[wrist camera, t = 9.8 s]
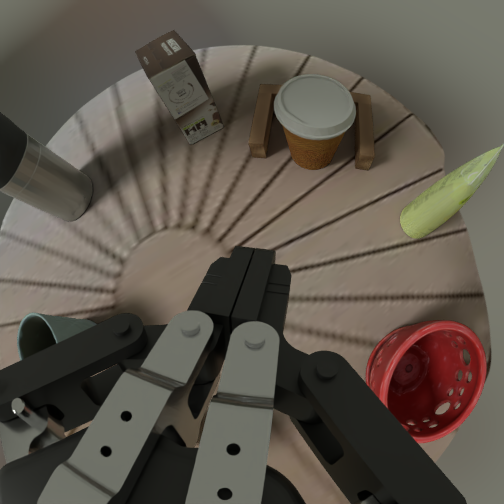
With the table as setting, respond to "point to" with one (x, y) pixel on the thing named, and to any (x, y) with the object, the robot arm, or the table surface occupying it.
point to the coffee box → (181, 85)
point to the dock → (264, 121)
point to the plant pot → (428, 376)
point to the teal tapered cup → (46, 332)
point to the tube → (446, 196)
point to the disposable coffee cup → (314, 117)
